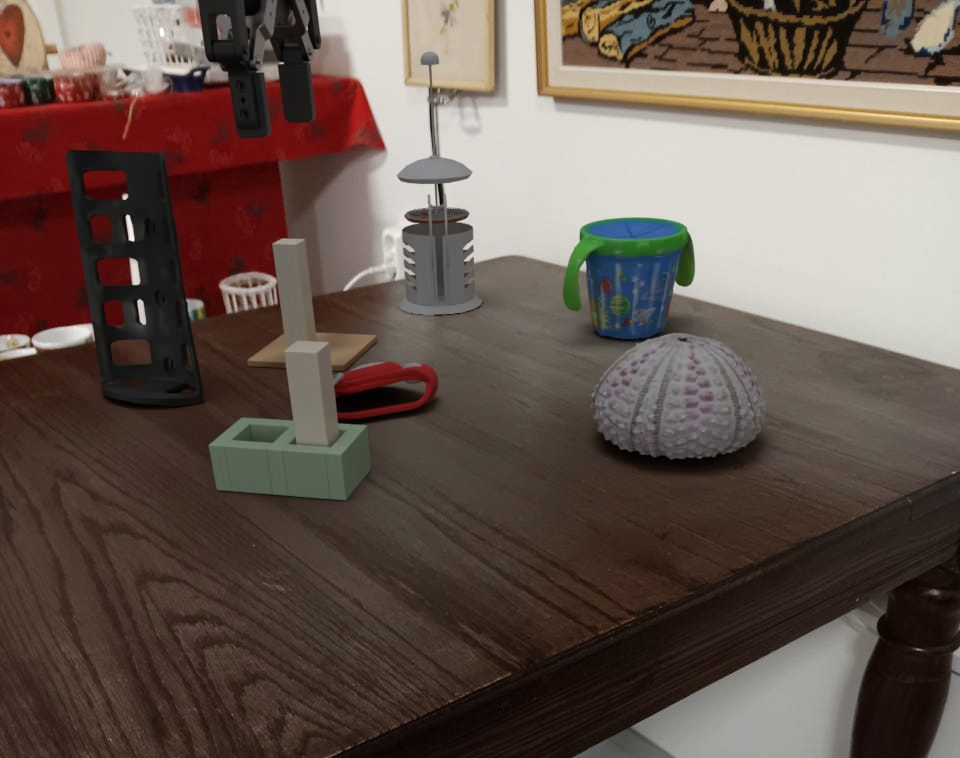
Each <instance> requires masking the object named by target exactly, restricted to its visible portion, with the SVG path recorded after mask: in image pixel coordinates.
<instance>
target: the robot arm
mask: <svg viewBox="0 0 960 758" xmlns="http://www.w3.org/2000/svg"><path fill="white" fill-rule="evenodd" d="M197 3H198V4H197V5H198V12H199V19H200V26H201V27H200V28H201V32H202V40H203V47H204V54H205V58H206V60H207V61H208V62H209V63H213V64H214V63H217V64H219V66H220V69H221V71H222V72H223V73H227V79H228V86H229V92H230V99H231V105H232V112H233V118H234V119H233V120H234V125H235V132H236V134H237V135H238V137H240V138H242V139H263V138H267V137H269V136H270V135H271V134H272V123H271V114H270V108H269V101H268V92H267V85H266V79H265V72H261V71H262V69H263V63H264V55H265V54H264V53H265V45H266V42H267V41H269V42H270V45H271V47H272V49H273V52H274V54H275V58H276V60H277V61H278V64H277V72H278V79H279V89H280V96H281V103H282V109H283V117H284V120H285V121H286V122H288V123H289V124H305V123H307V124H308V123H310V122H311V123H312V122H313V121H314V120H315V119H316V115H317V113H316V103H315V95H314V94H315V93H314V87H313V78H312V68H311V62H313V61H314V58H315V57H314V56H315V51H316V50H320V49H321V47H322V37H321V30H320V29H321V28H320V22H319V14H318V5H317V0H197ZM218 30H219V32H220V33H221V34H220V39H219V32H218Z"/></svg>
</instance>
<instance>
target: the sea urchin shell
mask: <svg viewBox="0 0 960 758" xmlns="http://www.w3.org/2000/svg"><path fill="white" fill-rule="evenodd" d="M757 379H758V376H756V375H754V374H752V369H751V366H750V365H748V364H746V362H744V360H743V357H741V356H739V355H738V354H737V353H736V352H735V351H734V350H733V349H731V348H730V347H729V346H728V345H726V344H725V343H723V342H722V341H719V340H717V339H713V338H709V337H705V336H697V335H694V334H691V333H684V332H671V333H667V334H664V335H660V336H658V337H654V338H647V339H646V340H644V341H642V342H640V343H639V342H636V344H635V346H633V347H631V348H630V349H626V350H625V352H624V353H623V354H622V355H620V356H619V357H618V358H616V359H615V361H614V362H613V363H612V364H611V365H610V366H609V367H608V368H607V369H606V371H605V372H604V373H602V376H601V377H600V378H599V382H598V383H597V384H596V385H595V386H593V388H594V389H593V390H594V391H593V392H592V393H591V394H590V396H591V399H592V402H591V404H590V405H589V408H590V409H591V410H592V411H593V414H592V419H593V420H594V421H595V422H596V423H597V432H599V433H601V434H603V437H604V440H605V441H610V442H611V443H612V445H616V446H618V447H619V450H626V451H627V452H629V453H631V452H634V451H635V452H639V454H640V455H641V456H643V455H645V456H649V455H650V456H651V457H652V458H657V457H660V456H663V457H666V458H668V459H670V461H671V460H675V459H679V460H680V459H681V460H684V459H687V458H689V459H692V458H693V459H695V458H697V459H699V460H700V459H702V458H709V457H712V458H715V457H716V456H717V455H718V454H721V455H725V454H727V453H729V454H732V453H733V452H737V451H738V450H741V449H742V448H746V446H747V445H748V444H749V443H751V442H753V441H755V440H756V437H757V435H758V434H759V433H761V432H762V431H763V428H762V427H764V424H765V422H766V416H767V414H768V410H767V408H766V405H767V401H766V400H765V398H764V393H765V392H764V390H763V388H761V387H760V386H759V384H758V382H757Z"/></svg>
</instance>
